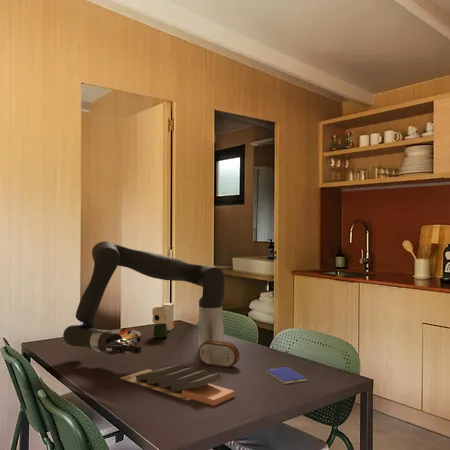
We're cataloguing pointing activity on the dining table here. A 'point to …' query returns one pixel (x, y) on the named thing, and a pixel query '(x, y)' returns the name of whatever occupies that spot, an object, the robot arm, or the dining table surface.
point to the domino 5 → (209, 394)
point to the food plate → (127, 333)
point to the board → (153, 385)
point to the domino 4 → (197, 382)
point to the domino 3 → (183, 379)
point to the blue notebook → (286, 375)
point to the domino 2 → (171, 376)
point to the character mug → (160, 321)
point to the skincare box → (170, 315)
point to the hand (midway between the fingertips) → (139, 350)
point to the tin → (219, 353)
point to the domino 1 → (159, 372)
